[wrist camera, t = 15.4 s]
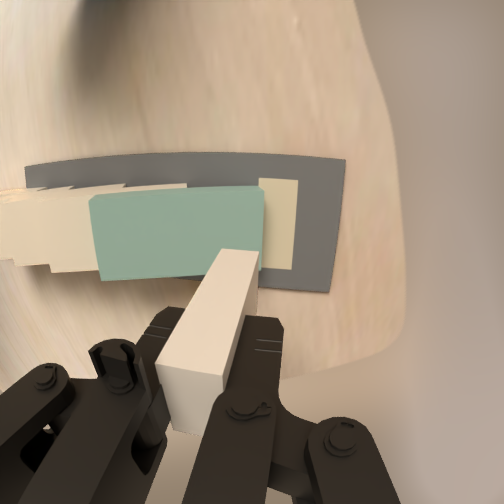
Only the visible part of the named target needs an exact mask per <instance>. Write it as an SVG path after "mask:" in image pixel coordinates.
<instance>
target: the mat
mask: <svg viewBox="0 0 504 504" xmlns="http://www.w3.org/2000/svg"><path fill="white" fill-rule="evenodd" d="M345 161H346V160H342V159H332V158H322V157H311V156H298V155H283V154H265V153H236V152H178V153H150V154H132V155H117V156H105V157H94V158H84V159H75V160H67V161H59V162H52V163H45V164H38V165H32V166H26V167H25V177H26V187H27V189H28V188H40V187H47V189H54V188H61V187H68V186H74V187H75V189H78V188H86V187H95V186H104V185H114V184H124V183H126V187H136V186H149V185H163V184H180V183H187V188H192V187H218V186H259V187H260V188H261V189H263V190H264V214H263V238H262V261H261V271H259V272H258V286H259V287H271V288H283V289H295V290H308V291H322V292H329V290H330V284H331V278H332V272H333V265H334V258H335V251H336V244H337V237H338V229H339V221H340V212H341V204H342V194H343V184H344V173H345ZM204 277H205V275H194V276H179V277H170V278H179V279H188V280H198V281H202V280H203V279H204Z"/></svg>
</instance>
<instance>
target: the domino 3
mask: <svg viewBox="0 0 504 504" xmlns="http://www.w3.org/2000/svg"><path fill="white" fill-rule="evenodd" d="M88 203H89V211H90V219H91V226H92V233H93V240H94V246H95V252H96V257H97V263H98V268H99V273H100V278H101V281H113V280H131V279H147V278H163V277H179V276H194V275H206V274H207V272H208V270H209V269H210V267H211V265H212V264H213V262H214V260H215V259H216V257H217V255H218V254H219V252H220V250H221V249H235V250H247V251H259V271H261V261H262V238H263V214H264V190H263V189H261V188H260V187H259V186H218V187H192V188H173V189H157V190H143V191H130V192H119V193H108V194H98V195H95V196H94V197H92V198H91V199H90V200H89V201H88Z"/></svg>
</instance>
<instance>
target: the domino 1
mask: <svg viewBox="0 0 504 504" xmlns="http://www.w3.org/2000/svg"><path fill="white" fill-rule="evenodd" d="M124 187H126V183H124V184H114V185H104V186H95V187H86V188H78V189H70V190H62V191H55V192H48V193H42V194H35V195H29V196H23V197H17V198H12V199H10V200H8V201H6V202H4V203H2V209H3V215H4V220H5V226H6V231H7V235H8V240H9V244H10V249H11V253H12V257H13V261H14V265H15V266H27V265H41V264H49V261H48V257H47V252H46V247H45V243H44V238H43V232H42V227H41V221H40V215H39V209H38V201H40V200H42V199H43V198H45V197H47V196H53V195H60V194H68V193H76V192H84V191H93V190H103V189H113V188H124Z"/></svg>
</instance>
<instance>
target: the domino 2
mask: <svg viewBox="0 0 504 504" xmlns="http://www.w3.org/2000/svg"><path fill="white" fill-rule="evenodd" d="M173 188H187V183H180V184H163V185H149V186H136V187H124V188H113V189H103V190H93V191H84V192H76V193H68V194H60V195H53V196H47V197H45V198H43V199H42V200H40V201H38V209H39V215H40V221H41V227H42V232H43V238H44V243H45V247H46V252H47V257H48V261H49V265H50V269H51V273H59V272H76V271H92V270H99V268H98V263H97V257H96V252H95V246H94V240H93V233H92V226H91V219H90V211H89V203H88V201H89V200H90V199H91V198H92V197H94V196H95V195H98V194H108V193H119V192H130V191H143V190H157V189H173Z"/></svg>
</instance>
